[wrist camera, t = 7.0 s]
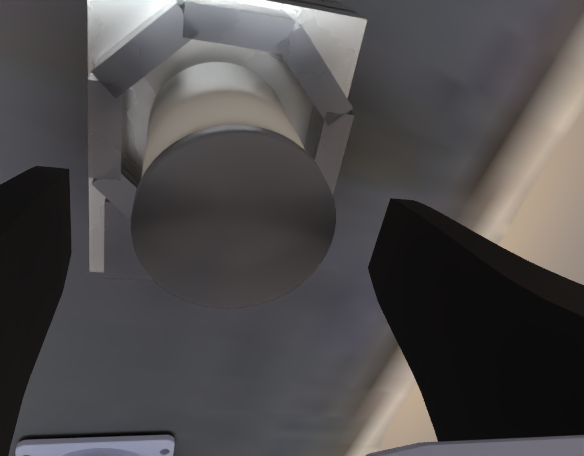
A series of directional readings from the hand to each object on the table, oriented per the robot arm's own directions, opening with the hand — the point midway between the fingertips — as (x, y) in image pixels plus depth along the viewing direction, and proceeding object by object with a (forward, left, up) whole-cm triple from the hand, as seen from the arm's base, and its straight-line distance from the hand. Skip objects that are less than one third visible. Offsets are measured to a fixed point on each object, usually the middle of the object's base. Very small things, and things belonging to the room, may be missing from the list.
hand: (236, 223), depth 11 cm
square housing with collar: (-1, 0, -9) cm, 9 cm away
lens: (0, 0, -6) cm, 6 cm away
